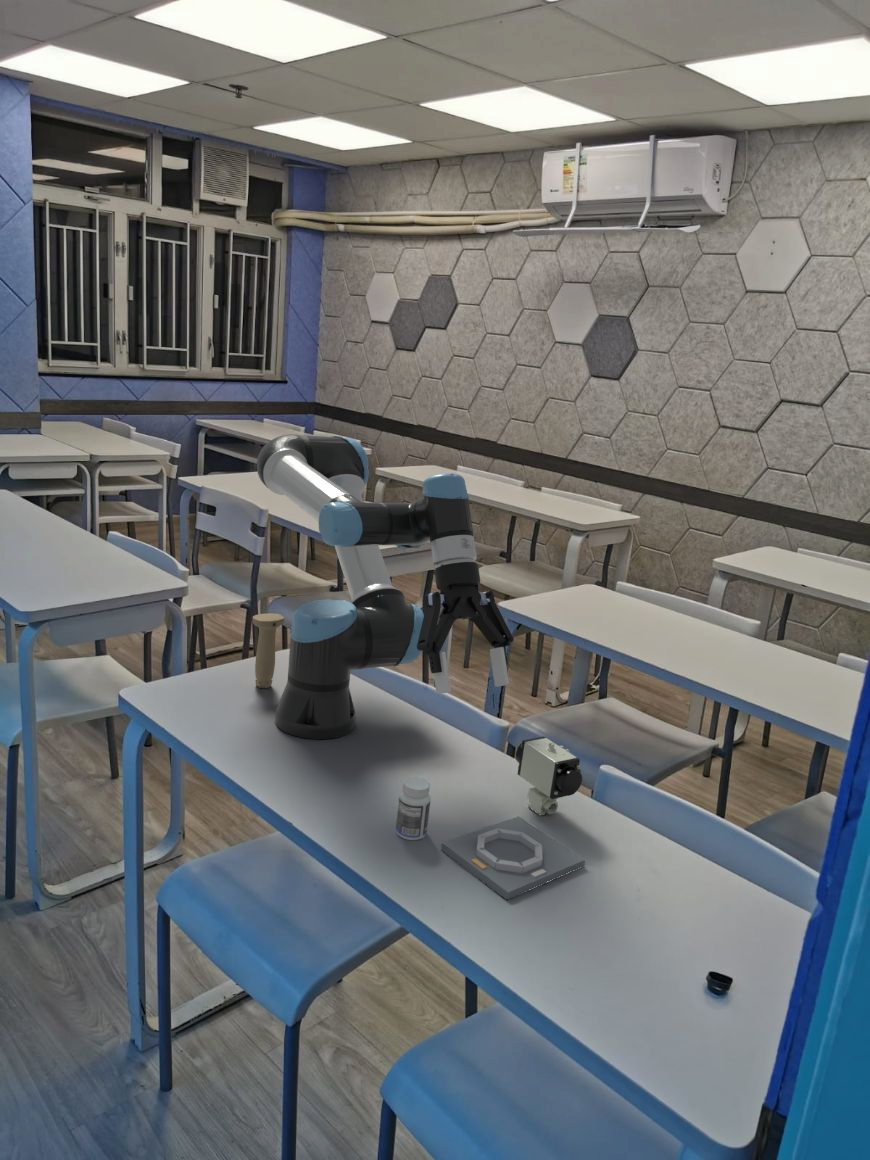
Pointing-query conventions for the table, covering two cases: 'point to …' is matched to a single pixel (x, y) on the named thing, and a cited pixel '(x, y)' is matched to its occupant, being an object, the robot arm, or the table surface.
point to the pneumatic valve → (547, 773)
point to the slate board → (512, 856)
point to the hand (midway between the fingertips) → (473, 689)
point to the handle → (266, 647)
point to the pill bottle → (413, 809)
